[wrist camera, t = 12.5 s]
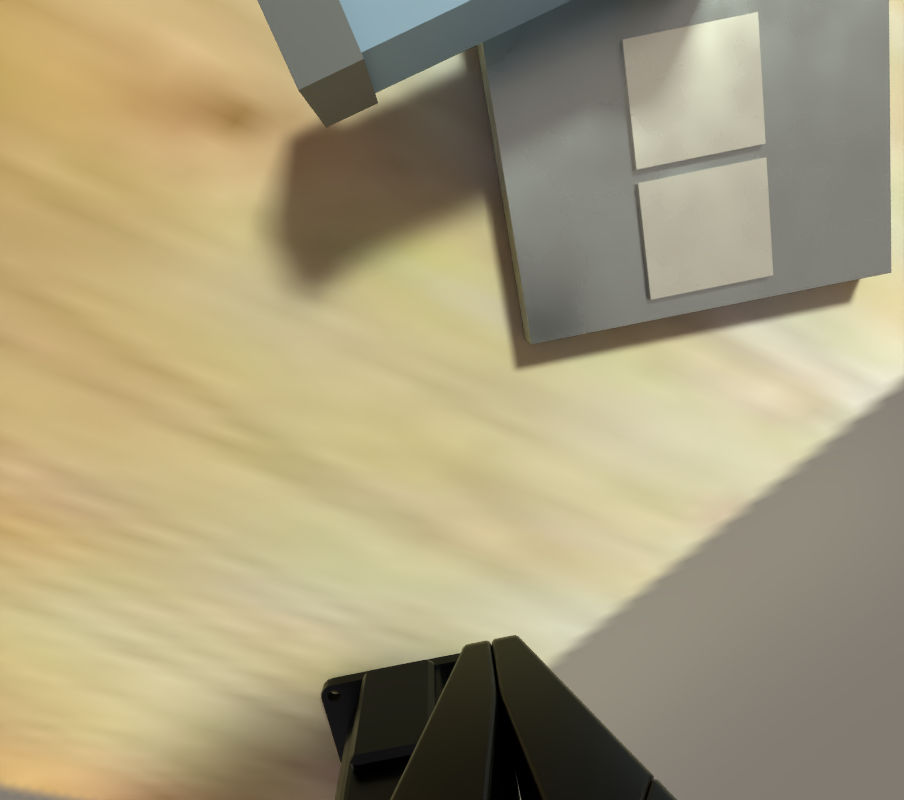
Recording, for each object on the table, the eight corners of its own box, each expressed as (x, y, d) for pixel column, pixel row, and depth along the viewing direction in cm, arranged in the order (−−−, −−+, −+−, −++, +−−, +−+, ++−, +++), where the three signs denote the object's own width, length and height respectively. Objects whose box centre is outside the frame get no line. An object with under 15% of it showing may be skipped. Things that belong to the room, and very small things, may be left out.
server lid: (863, 272, 19) (914, 272, 17) (525, 339, 20) (536, 348, 18) (855, -133, 17) (914, -189, 15) (460, -51, 17) (465, -96, 15)
